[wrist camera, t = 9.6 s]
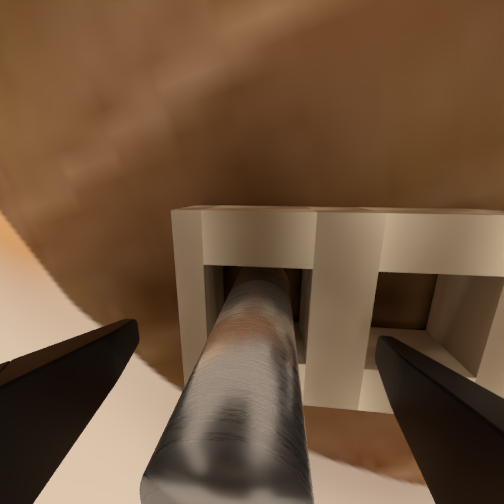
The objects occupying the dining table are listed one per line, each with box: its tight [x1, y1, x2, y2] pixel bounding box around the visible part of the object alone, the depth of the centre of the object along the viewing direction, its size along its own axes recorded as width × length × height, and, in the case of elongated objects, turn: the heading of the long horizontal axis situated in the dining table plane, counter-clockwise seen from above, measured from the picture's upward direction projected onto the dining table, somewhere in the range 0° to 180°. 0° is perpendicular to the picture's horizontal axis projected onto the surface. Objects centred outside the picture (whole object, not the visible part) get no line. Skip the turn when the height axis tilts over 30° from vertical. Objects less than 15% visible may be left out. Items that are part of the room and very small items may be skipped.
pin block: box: [171, 205, 504, 414], centre depth 12 cm, size 14×9×4 cm, turn 90°
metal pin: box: [140, 266, 314, 504], centre depth 9 cm, size 3×3×10 cm
